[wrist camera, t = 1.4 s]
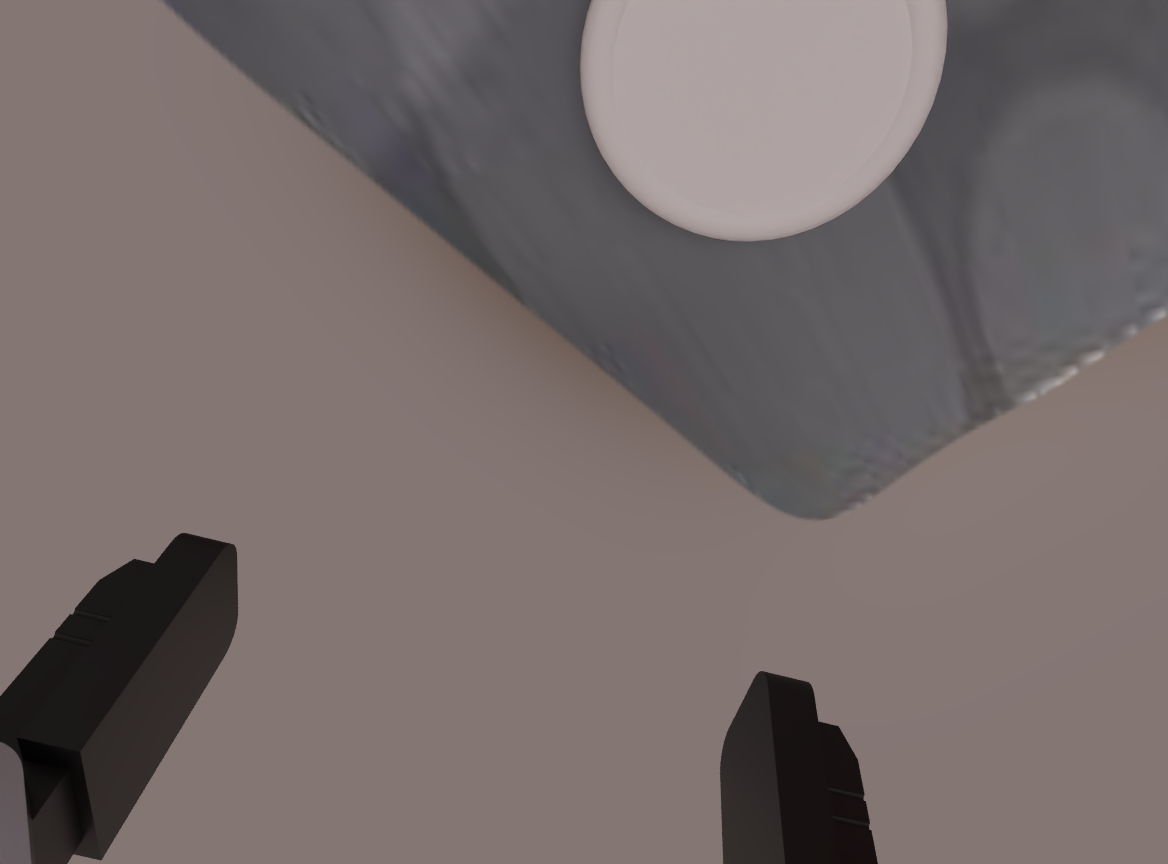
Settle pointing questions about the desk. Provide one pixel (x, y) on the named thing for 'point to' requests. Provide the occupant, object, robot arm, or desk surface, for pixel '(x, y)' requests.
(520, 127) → the desk surface
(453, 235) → the desk surface
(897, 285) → the desk surface
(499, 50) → the desk surface
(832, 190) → the white round container
